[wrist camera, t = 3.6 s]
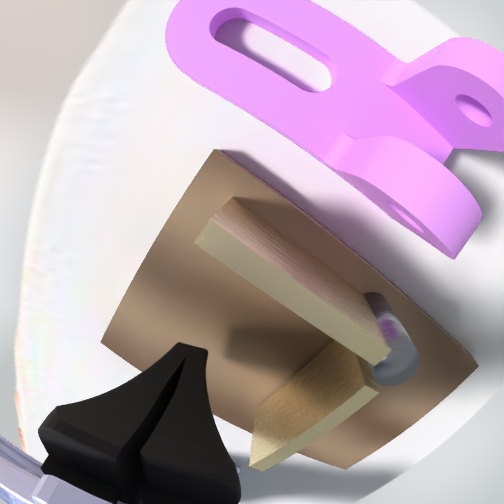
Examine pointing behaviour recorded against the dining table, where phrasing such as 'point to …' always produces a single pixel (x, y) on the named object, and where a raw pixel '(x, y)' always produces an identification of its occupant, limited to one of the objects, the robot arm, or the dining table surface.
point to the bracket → (361, 106)
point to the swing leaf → (310, 405)
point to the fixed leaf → (311, 290)
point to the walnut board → (269, 319)
